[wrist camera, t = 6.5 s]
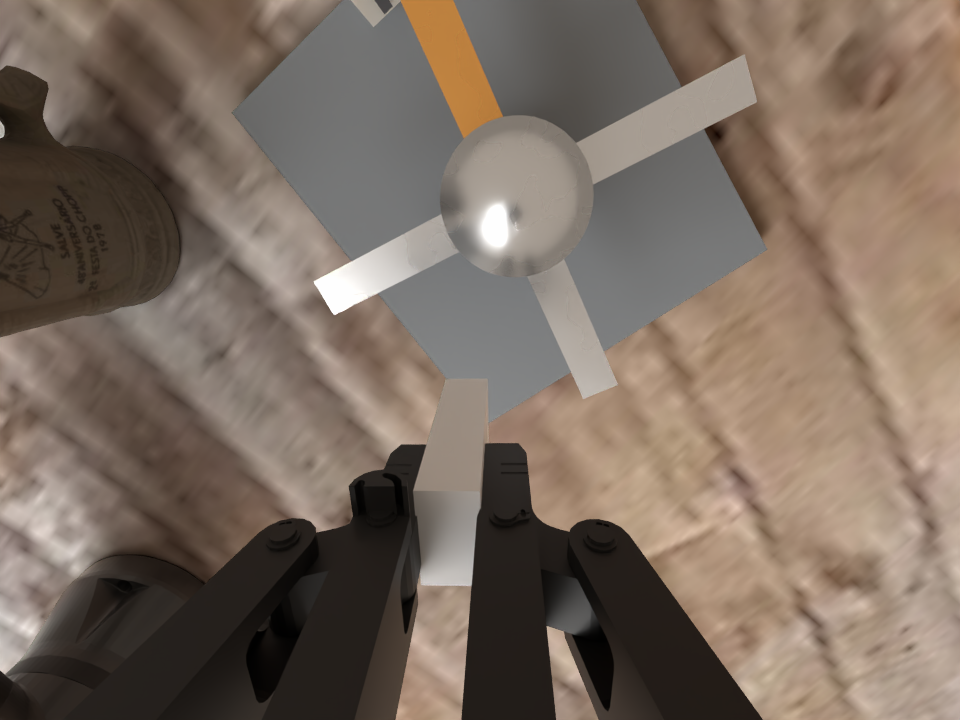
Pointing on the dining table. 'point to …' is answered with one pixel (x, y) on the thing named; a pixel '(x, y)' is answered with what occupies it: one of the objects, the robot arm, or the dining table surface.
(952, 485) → the dining table surface
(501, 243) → the capstan
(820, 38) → the dining table surface
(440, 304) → the stand
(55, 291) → the beer stein
